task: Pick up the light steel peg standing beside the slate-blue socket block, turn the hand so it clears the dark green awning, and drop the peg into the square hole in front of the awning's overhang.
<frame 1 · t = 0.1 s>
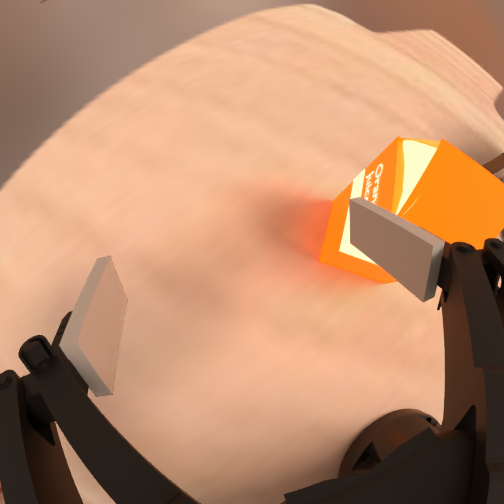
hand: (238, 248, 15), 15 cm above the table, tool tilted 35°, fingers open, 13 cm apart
orange juice: (358, 243, 32), on the table
awning: (502, 181, 38), on the table
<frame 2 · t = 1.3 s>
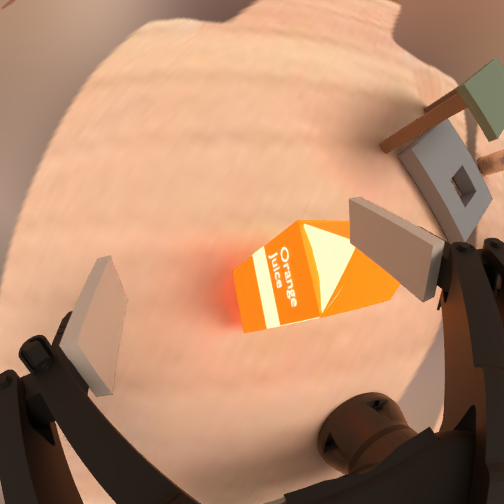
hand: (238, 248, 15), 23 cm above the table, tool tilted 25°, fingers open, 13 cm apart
orange juice: (269, 297, 36), point 2 cm above the table
awning: (416, 136, 42), on the table
socket block: (444, 180, 43), on the table
steel peg: (483, 166, 45), on the table
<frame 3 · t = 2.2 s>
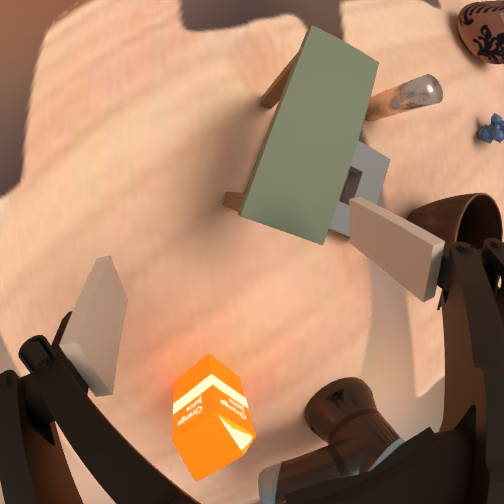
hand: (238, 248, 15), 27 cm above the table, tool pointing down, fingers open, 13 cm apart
orange juice: (207, 379, 47), on the table
ceramic pitcher: (467, 35, 43), on the table
teacup and saucer: (477, 0, 41), on the table
awning: (262, 153, 41), on the table
socket block: (319, 177, 43), on the table
steel peg: (369, 110, 42), on the table
grapes: (480, 128, 48), on the table
plant pot: (417, 226, 49), on the table
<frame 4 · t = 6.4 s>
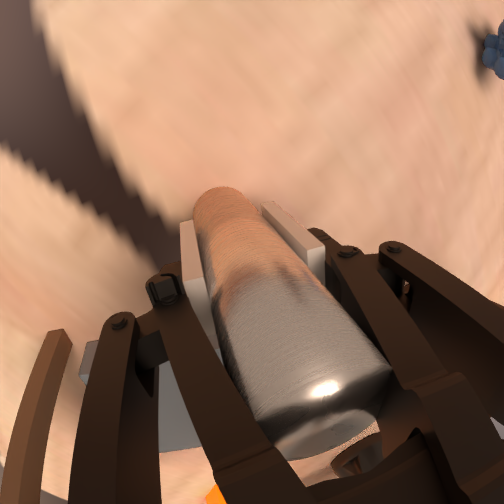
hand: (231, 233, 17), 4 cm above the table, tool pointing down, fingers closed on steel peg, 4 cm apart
orange juice: (228, 489, 42), on the table
awning: (115, 392, 25), on the table
socket block: (203, 376, 26), on the table
steel peg: (222, 215, 20), on the table, touching gripper
grapes: (479, 40, 18), on the table
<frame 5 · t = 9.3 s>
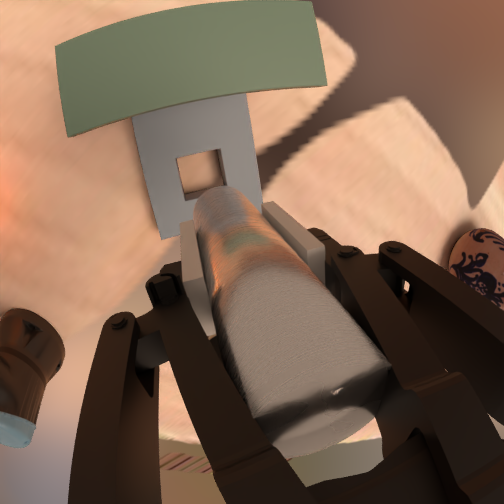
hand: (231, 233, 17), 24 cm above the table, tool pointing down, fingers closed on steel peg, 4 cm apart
ceramic pitcher: (463, 249, 60), on the table
awning: (184, 89, 33), on the table
socket block: (197, 156, 37), on the table
steel peg: (221, 214, 20), point 21 cm above the table, touching gripper
when the fingers open (7 cm above the table, at t = 12.3 s): steel peg drops 2 cm, resting in socket block.
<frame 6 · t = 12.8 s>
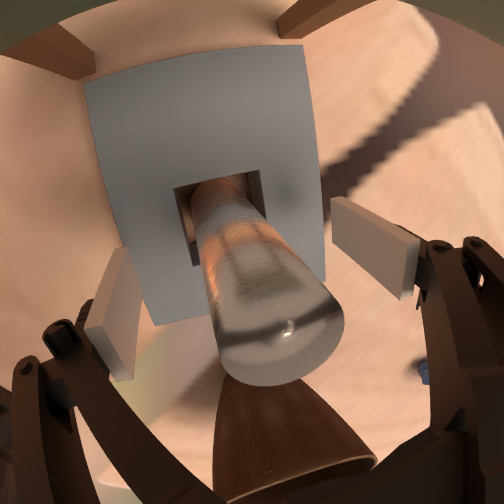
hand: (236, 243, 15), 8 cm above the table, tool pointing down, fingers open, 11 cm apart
awning: (190, 60, 17), on the table
socket block: (211, 179, 22), on the table
steel peg: (216, 203, 23), resting in socket block
grapes: (428, 359, 43), on the table
plant pot: (254, 376, 32), on the table
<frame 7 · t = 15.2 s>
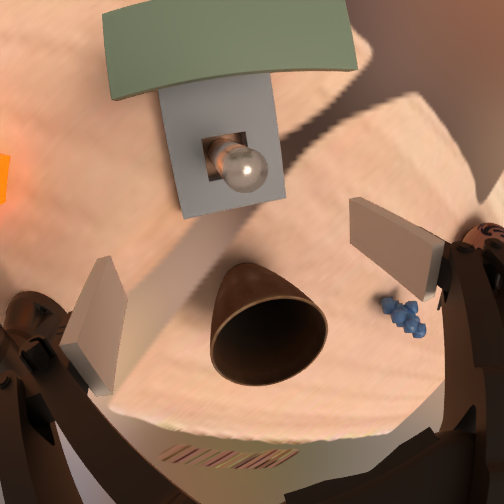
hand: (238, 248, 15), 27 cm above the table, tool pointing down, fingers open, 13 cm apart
ceramic pitcher: (471, 244, 59), on the table
awning: (210, 74, 34), on the table
socket block: (220, 139, 38), on the table
steel peg: (222, 153, 39), resting in socket block
grapes: (391, 298, 59), on the table
plant pot: (245, 281, 48), on the table
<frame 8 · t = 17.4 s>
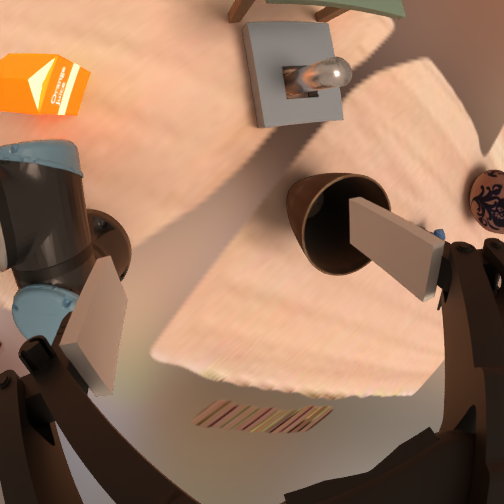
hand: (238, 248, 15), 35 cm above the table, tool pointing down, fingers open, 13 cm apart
orange juice: (62, 91, 34), on the table
ceramic pitcher: (479, 191, 65), on the table
awning: (281, 25, 38), on the table
socket block: (289, 73, 42), on the table
steel peg: (291, 84, 43), resting in socket block
grapes: (419, 231, 64), on the table
plant pot: (305, 197, 53), on the table
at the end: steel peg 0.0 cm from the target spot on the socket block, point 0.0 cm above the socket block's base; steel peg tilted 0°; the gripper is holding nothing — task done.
